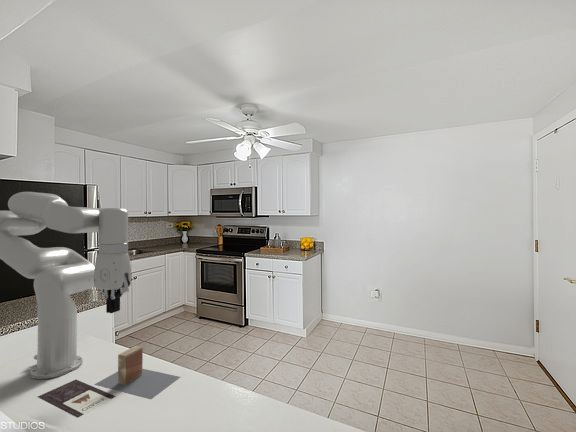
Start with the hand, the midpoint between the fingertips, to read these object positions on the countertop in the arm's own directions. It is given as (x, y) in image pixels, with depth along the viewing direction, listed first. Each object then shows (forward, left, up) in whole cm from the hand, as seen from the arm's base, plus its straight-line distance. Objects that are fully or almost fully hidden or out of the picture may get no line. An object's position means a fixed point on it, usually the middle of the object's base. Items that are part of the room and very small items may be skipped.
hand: (113, 311), depth 85 cm
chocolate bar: (+1, -11, -20) cm, 22 cm away
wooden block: (+7, 0, -18) cm, 20 cm away
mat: (+10, 0, -19) cm, 21 cm away
